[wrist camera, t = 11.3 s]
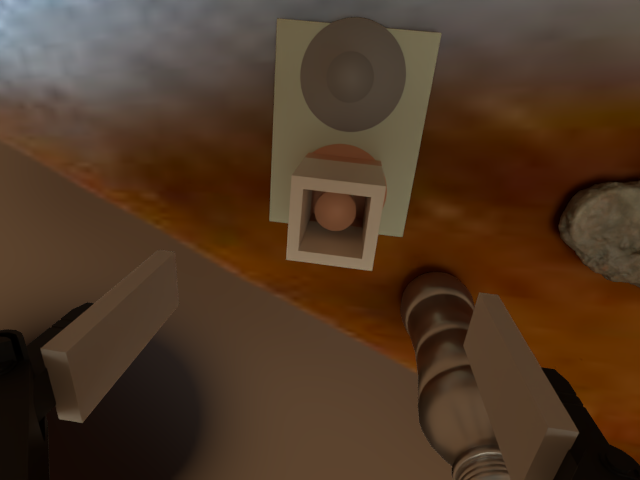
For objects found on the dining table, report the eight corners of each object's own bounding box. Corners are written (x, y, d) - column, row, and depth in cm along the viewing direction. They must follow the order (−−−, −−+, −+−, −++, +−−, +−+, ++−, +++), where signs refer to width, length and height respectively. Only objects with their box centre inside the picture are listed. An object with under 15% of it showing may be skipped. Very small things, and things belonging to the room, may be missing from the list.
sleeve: (308, 152, 31) (291, 175, 24) (380, 160, 31) (386, 186, 24) (302, 220, 34) (286, 259, 27) (370, 228, 33) (372, 270, 26)
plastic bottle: (391, 316, 38) (416, 533, 20) (406, 257, 36) (452, 445, 17) (455, 328, 38) (539, 558, 20) (475, 269, 35) (594, 472, 17)
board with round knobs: (280, 13, 29) (258, -5, 23) (439, 27, 28) (461, 13, 22) (272, 221, 36) (253, 251, 30) (400, 237, 35) (408, 270, 29)
